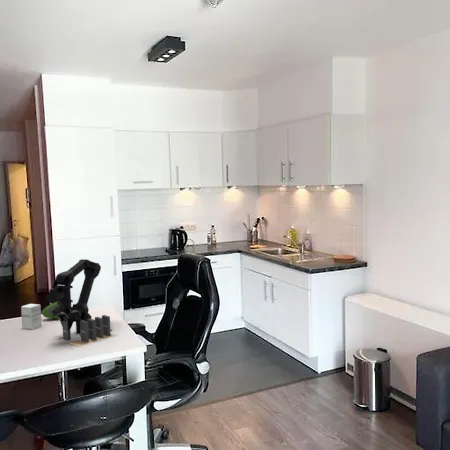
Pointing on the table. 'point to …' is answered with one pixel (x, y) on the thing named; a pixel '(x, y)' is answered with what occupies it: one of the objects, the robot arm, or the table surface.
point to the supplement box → (31, 316)
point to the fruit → (46, 313)
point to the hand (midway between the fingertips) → (66, 328)
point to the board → (80, 343)
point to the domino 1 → (66, 331)
